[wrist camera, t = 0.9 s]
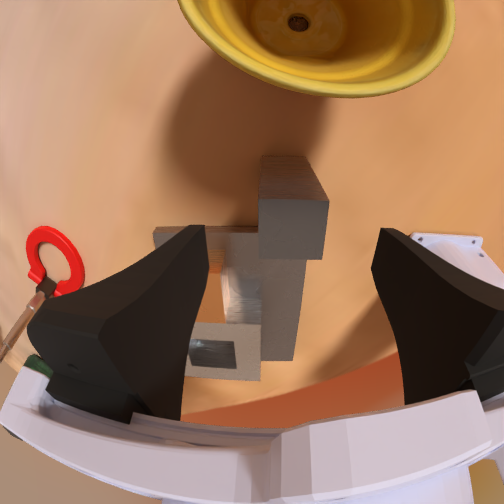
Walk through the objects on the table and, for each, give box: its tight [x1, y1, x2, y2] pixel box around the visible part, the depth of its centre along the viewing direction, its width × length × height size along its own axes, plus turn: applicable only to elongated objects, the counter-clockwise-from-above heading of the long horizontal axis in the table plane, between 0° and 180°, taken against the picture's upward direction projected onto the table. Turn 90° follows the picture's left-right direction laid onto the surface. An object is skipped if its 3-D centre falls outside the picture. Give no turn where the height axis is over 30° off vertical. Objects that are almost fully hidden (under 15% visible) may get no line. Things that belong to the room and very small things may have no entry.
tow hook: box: [0, 226, 85, 363], centre depth 19 cm, size 8×13×9 cm
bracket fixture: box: [153, 226, 307, 381], centre depth 24 cm, size 12×16×4 cm
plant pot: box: [177, 0, 456, 98], centre depth 9 cm, size 10×10×10 cm
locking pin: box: [258, 156, 329, 260], centre depth 15 cm, size 3×3×8 cm
